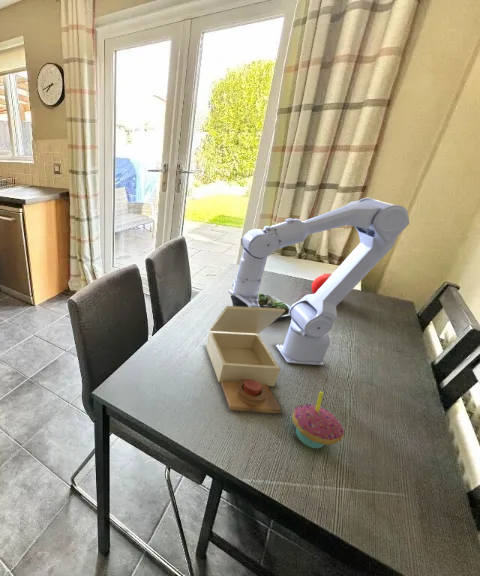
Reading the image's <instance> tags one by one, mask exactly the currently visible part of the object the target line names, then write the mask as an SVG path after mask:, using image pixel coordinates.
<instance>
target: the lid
mask: <svg viewBox="0 0 480 576" xmlns="http://www.w3.org/2000/svg"><path fill="white" fill-rule="evenodd" d="M284 312H285V309H279V308H258V307H237V306H233V305H226V306H225V307H224V309H223V310H222V311H221V312H220V314H219V315H218V316H217V318H216V319H215V321H214V322H213V323H212V324H211V326H210V327H209V331H214V332H232V333H250V334H258V335H259V334H261V333H262V332H263V331H264V330H265V329H267V328H268V327H269V326H270V325H271V324H272V323H274V322H276V321H275V320H276V319H277V318H278V317H279V316H281V315H282V314H283V313H284Z"/></svg>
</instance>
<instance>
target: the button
mask: <svg viewBox="0 0 480 576" xmlns="http://www.w3.org/2000/svg"><path fill="white" fill-rule="evenodd" d="M243 390H244V391H245V392H246V393H247V394H249V395H252V396H257V395H259V394H260V391H261V385H260V384H259V383H258V382H257V381H255V380H251V379H248V380H246V381H245V382H244V386H243Z"/></svg>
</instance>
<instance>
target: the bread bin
mask: <svg viewBox="0 0 480 576" xmlns="http://www.w3.org/2000/svg"><path fill="white" fill-rule="evenodd" d="M205 348H206V351H207V354H208V357H209V359H210V362H211V364H212V367H213V370H214V372H215V376H216V379H217V381H218V383H221V382H222V381H226V382H238V381H240V380H242V379H251V380H255V381H257V382H258V383H259V384H267V385H268V387H275V385H276V382H277V380H278V377H279V374H280V371H281V366H280V365H279V364H278V363H277V361H276V359H275V358H274V356H273V355H272V353H271V351H270V350H269V348H268V347H267V346H266V344H265V342H264V341H263V339H262V338H261V336H260V335H259V334H254V333H236V332H218V331H210V330H209V331H208V336H207V340H206V345H205Z"/></svg>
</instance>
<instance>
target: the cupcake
mask: <svg viewBox="0 0 480 576" xmlns="http://www.w3.org/2000/svg"><path fill="white" fill-rule="evenodd" d="M323 389H324V388H323V387H321V389H320V391H319V392H318V396H317V401H316V404H315V405H314V404H311V403H305V404H304V403H303V404H300V405H297V406H296V407H294V409H293V410H294V411H293V413H292V416H291V417H292V423H293V425H294V426H295V434H296V437H297V438H298V440H299V441H301V443H302V444H304V445H305V446H307V447H309V448H311V449H312V448H313V449H321V448H322V447H324V446H331V445H335V444H337V443H338V442H341V441H342V439H344V436H345V430H344V426H343V424H341V422H340V421H339V419H338V418H337V417H336V416H335V415H334V413H332V412H330V411H329V410H328V409H325V408H323V407H321V405H322V402H323V397H324V391H323Z"/></svg>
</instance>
